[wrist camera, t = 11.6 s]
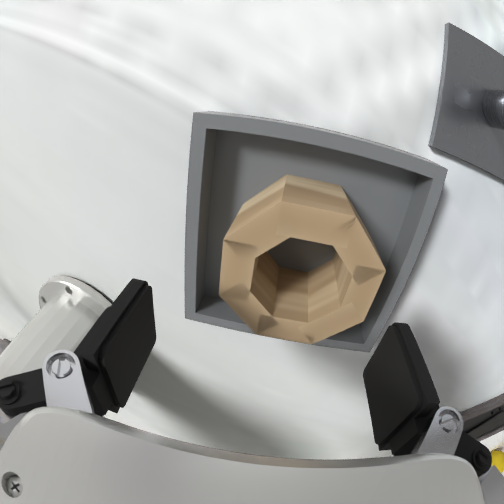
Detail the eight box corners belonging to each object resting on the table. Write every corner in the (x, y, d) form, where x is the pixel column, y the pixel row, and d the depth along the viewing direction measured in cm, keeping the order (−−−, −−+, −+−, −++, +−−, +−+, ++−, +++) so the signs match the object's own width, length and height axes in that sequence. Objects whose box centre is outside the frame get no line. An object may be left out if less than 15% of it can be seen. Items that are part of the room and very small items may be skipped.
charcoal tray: (364, 327, 19) (369, 352, 17) (196, 295, 20) (185, 318, 18) (428, 159, 13) (447, 169, 11) (209, 111, 14) (193, 112, 12)
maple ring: (342, 297, 18) (349, 349, 14) (234, 277, 18) (216, 325, 14) (376, 194, 14) (402, 227, 10) (247, 167, 15) (228, 191, 11)
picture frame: (420, 454, 32) (516, 415, 26) (421, 464, 30) (519, 423, 24) (434, 417, 26) (548, 364, 20) (437, 429, 24) (553, 373, 18)
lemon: (479, 457, 35) (484, 483, 28) (493, 447, 32) (499, 474, 25) (493, 453, 34) (498, 477, 27) (506, 442, 31) (512, 468, 24)
